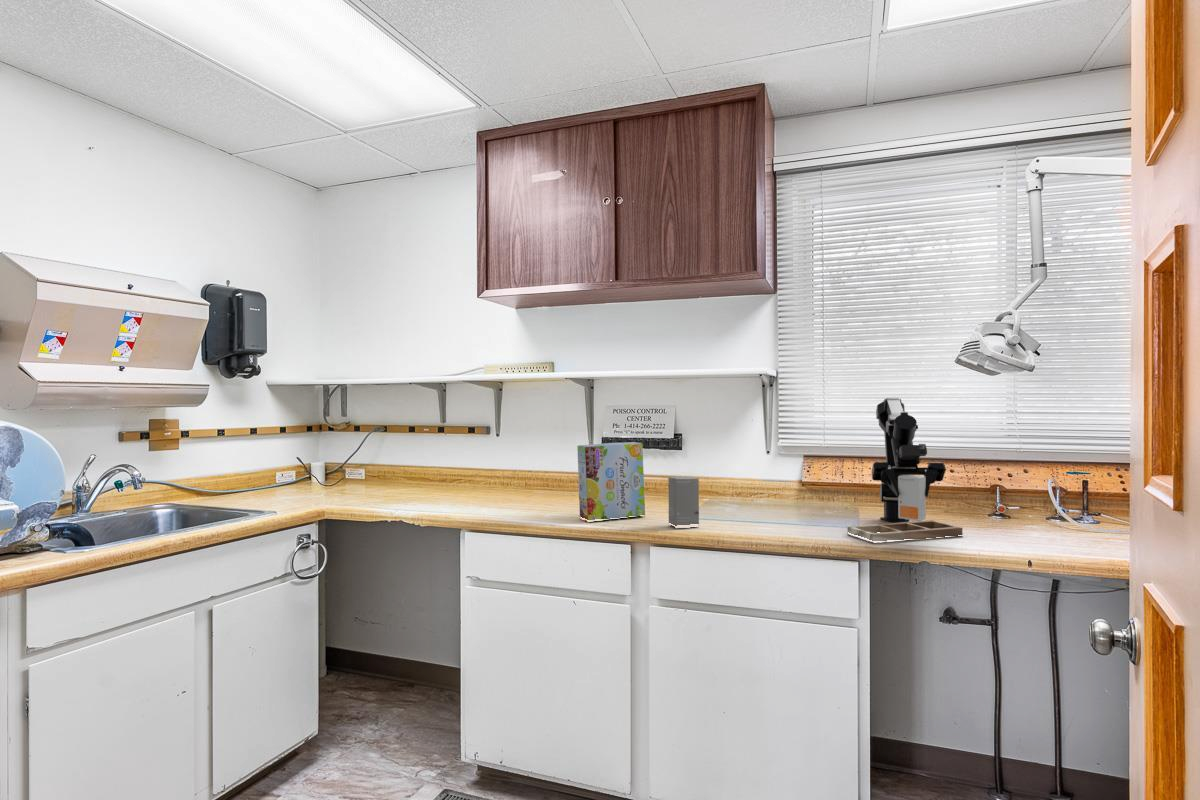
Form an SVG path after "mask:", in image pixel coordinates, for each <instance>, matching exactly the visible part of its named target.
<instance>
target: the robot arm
mask: <svg viewBox="0 0 1200 800" xmlns="http://www.w3.org/2000/svg"><path fill="white" fill-rule="evenodd" d="M875 411H876V412H875V415H876V417H875V418H876V419H877V420H878V426H879V428H881V430H882V431H883V433H884V435H883V436H884V447H885V461H875V462H873V463H872V467H871V479H872V480H873V481H879V482H880V488H879V500H880V502H881V503H883V516H881V517H879V519H880V520H883V521H885V522H886V521H887V522H889V523H901V522H910V520H908V519H902V518H898V496H899V490H898V476H901V475H915V476H925V477H926V498H928V497H929V492H930V487H931V484H935V482H941V481H944V477H945V474H946V470H947V469H946V464H945V463H944V462H940V461H939V462H937V461H936V462H928V464H927V467H919V466H918V465H920V462H921V460H920V457H926V455H927V454H928V449H927V444H926V443H918V444H914V441H913V440H914V438H915V434H916V432H917V430H918V429H919V425H918V423H917V419H916V418H915V417H914V416H912V415H910V414H909V413H908V412H907V411H906V412H905V404H904V403H903V402H902V399H901V398H899V397H887V398H884V400H883V401H882V402H880V403H879V404H877V405H876V410H875Z"/></svg>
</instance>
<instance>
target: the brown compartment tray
mask: <svg viewBox="0 0 1200 800" xmlns="http://www.w3.org/2000/svg"><path fill="white" fill-rule="evenodd" d="M846 528H847V533H848V532H849V533H851V534H854V535H858V536H861V537H864V538H867V539H869V540H872V541H887V540H904V539H926V538H936V537H945V536H958V535H963V533H964V532H963V527H961V526H957V525H953V524H950V523H949V524H948V523H946V522H941V521H937V520H931V519H929V520H922V521H915V520H913V521H903V522H889V523H877V524H865V525H864V524H863V525H851V526H850V525H849V526H847V527H846ZM877 532H880V533H877ZM926 540H927V539H926Z"/></svg>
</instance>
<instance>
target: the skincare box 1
mask: <svg viewBox="0 0 1200 800" xmlns="http://www.w3.org/2000/svg"><path fill="white" fill-rule="evenodd" d="M667 480H668V524H669V523H671V524H673V525H675V526H677V525H690V524H699V525H700V517H699V516H700V497H699V496H700V493H699V492H700V489H699V487H700V485H699V483H700V482H699V480H700V479H699V477H693V476H671V477H670V476H669V477H668V478H667Z"/></svg>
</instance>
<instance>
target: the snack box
mask: <svg viewBox="0 0 1200 800" xmlns="http://www.w3.org/2000/svg"><path fill="white" fill-rule="evenodd" d="M643 445H644V444H643V442H635V441H631V442H630V441H629V442H627V441H626V442H608V443H606V442H605V443H596V444H593V443H592V444H580V445H577V448H576V449H577V471H578V472H577V473H578V474H577V475H578V503H579V504H578V505H579V517H580V516H581V517H582V518H585V519H587V520H595V519H610V518H620V517H629V516H640V515H645V516H646V507H645V506H646V504H645V503H646V502H645V499H646V498H645V476H644V474H645V473H644V471H645V470H644V452H643V451H644V448H643Z"/></svg>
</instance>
